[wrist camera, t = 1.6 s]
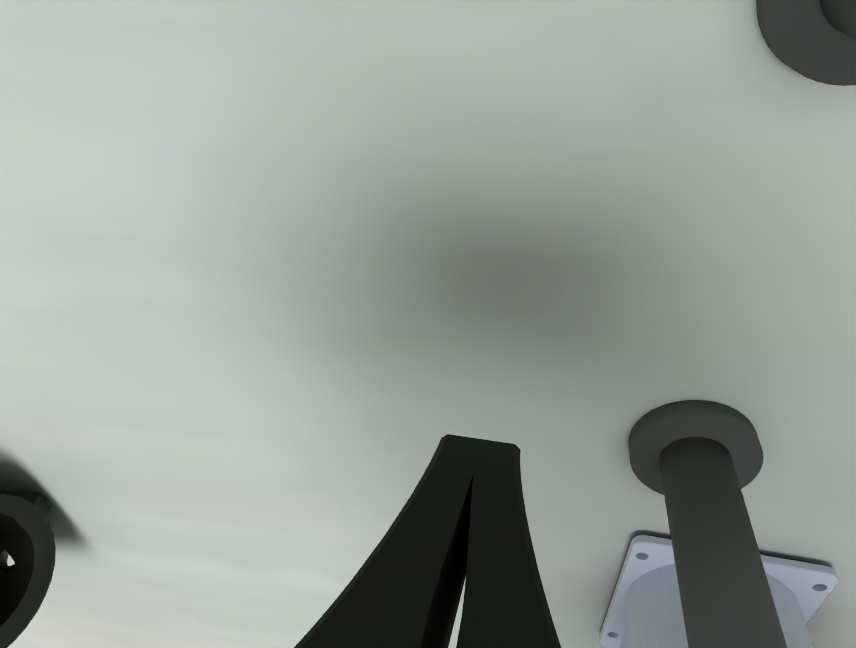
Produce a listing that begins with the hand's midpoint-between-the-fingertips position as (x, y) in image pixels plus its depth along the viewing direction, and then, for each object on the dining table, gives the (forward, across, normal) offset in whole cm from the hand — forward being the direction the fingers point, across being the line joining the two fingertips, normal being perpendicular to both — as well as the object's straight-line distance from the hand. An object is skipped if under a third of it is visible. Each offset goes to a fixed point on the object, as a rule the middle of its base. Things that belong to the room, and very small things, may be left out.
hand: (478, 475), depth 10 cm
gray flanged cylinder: (+9, -7, +8) cm, 14 cm away
